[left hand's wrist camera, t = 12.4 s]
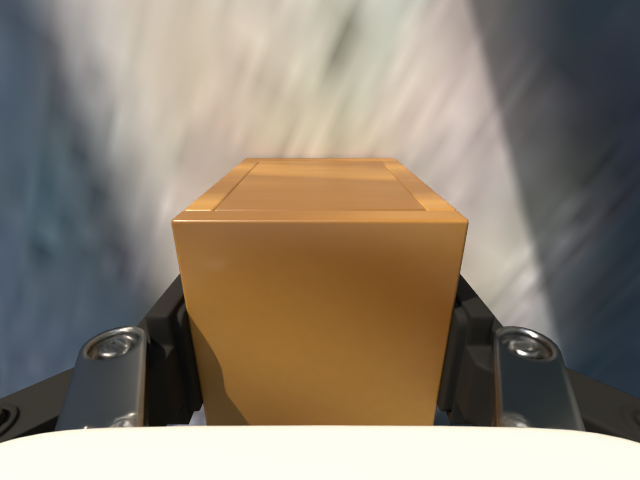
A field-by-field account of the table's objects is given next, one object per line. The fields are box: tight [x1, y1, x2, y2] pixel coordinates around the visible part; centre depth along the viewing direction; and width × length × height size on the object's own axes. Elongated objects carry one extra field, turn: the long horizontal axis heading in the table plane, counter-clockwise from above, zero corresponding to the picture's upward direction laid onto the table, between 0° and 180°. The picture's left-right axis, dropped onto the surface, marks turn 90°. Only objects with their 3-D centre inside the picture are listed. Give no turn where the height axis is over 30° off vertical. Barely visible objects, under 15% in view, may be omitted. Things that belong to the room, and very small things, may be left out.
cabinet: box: [172, 158, 468, 426], centre depth 14 cm, size 18×6×8 cm, turn 0°
